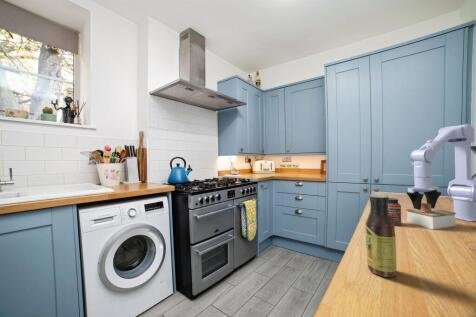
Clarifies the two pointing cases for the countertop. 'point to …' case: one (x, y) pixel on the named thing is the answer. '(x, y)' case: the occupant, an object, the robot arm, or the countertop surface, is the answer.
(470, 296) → the countertop surface
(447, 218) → the carton
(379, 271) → the sauce bottle
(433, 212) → the lid
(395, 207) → the supplement bottle
